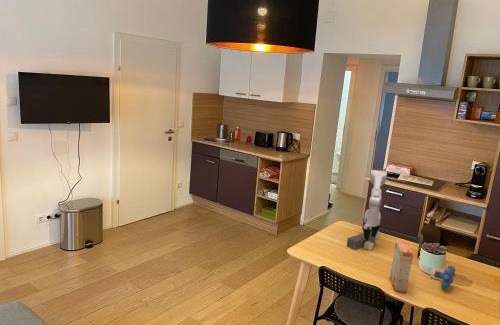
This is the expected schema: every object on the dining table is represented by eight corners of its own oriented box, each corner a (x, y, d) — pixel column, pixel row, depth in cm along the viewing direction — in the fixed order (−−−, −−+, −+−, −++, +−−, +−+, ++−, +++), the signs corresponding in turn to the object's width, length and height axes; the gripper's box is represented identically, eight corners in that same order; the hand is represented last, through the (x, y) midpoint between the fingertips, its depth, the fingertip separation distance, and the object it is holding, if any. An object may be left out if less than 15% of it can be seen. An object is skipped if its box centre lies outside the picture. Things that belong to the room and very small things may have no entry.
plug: (352, 239, 242) (352, 234, 241) (373, 248, 231) (373, 243, 230) (348, 240, 239) (349, 235, 238) (369, 249, 228) (370, 244, 227)
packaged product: (432, 257, 213) (452, 262, 209) (430, 265, 214) (450, 270, 210) (431, 270, 197) (452, 276, 193) (429, 279, 198) (450, 285, 194)
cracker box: (407, 293, 182) (414, 252, 177) (393, 291, 183) (400, 250, 179) (401, 279, 195) (408, 241, 191) (389, 277, 196) (395, 239, 192)
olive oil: (434, 256, 226) (442, 216, 220) (436, 263, 216) (444, 222, 211) (415, 252, 229) (422, 213, 224) (416, 259, 219) (423, 218, 214)
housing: (366, 239, 243) (367, 232, 242) (374, 243, 238) (375, 235, 237) (346, 246, 231) (347, 238, 229) (354, 250, 226) (355, 241, 225)
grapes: (441, 281, 196) (445, 259, 194) (455, 286, 191) (460, 264, 189) (432, 288, 188) (437, 266, 186) (447, 294, 183) (451, 271, 181)
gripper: (373, 212, 233) (370, 233, 236) (360, 216, 224) (357, 238, 227) (384, 215, 228) (380, 237, 231) (370, 220, 219) (367, 242, 222)
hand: (369, 237), depth 229 cm, fingers open, 7 cm apart
